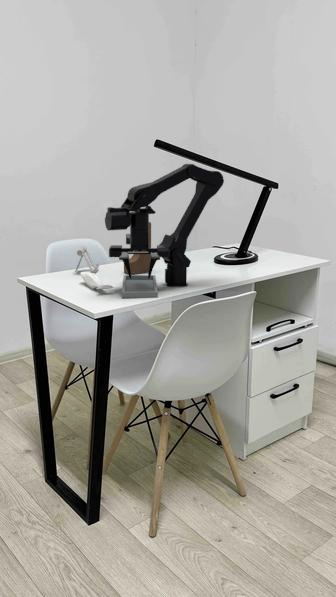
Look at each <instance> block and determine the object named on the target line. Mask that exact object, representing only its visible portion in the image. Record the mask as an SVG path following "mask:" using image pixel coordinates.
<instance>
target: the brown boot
mask: <svg viewBox="0 0 336 597" xmlns="http://www.w3.org/2000/svg"><path fill="white" fill-rule="evenodd" d="M149 248H152V222H151V221H149ZM150 255H151V254H132V256H131V257H129V261H130V268H131V275H140V274H146V273H147V274H148V270H149V263H150ZM123 273H124V274H127V275H129V274H128V272H127V269H126V266H125V264H124V263H123ZM139 273H140V274H139Z"/></svg>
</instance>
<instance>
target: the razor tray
mask: <svg viewBox="0 0 336 597" xmlns="http://www.w3.org/2000/svg"><path fill="white" fill-rule="evenodd" d="M121 288H122V289H121V299H122V300H124V299H145V298H146V299H149V298H150V299H151V298H152V299H153V298H158V297H159V295H158V294H159V293H158V285H157V277H156V275H154V274H153V275H152V274H151V275H150V278H149V279H148V274H147V275H145V274H142V275H141V274H132V275H131V279H130V277H129V274H127V275H126V274H125V275H123V277H122V286H121Z"/></svg>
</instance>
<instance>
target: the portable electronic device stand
mask: <svg viewBox="0 0 336 597" xmlns="http://www.w3.org/2000/svg"><path fill="white" fill-rule="evenodd" d="M85 253H86V254H85ZM76 255H77V256H79V257H80V258H79V261H78V263H77V265H76V269H75V272H77V271H78V269H79V268H80V264H81V262H82V260H83V257H84V261H86V264H87V266H88V268H89V270H90V273H92V274H95V273H96V272H97V271H98V269H99V267H100V263H99V262H97V263H96V264H95V263H94V262H93V260H92V258H91V255H90V253H89V251H88V249H87V247H86V246H84V245H81V246H80V247H79V248H78V250H76ZM87 257H88V258H87ZM88 259H89V260H88ZM89 261H90V262H89ZM90 263H91V264H90Z"/></svg>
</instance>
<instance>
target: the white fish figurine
mask: <svg viewBox="0 0 336 597" xmlns="http://www.w3.org/2000/svg"><path fill="white" fill-rule="evenodd" d="M80 276H81V278H82V279H83V281H84V283H85V284H86V286H88V287H89V288H90V289H93V290H95V289H96V290H108V289H109V290H110V289H112V288H114V286H112V285H110V284H105V283H104V282H103V281H101V280H100V278H99V277H97V276H96V275H95V274H94V273H92V272H91V271H81V272H80Z"/></svg>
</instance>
